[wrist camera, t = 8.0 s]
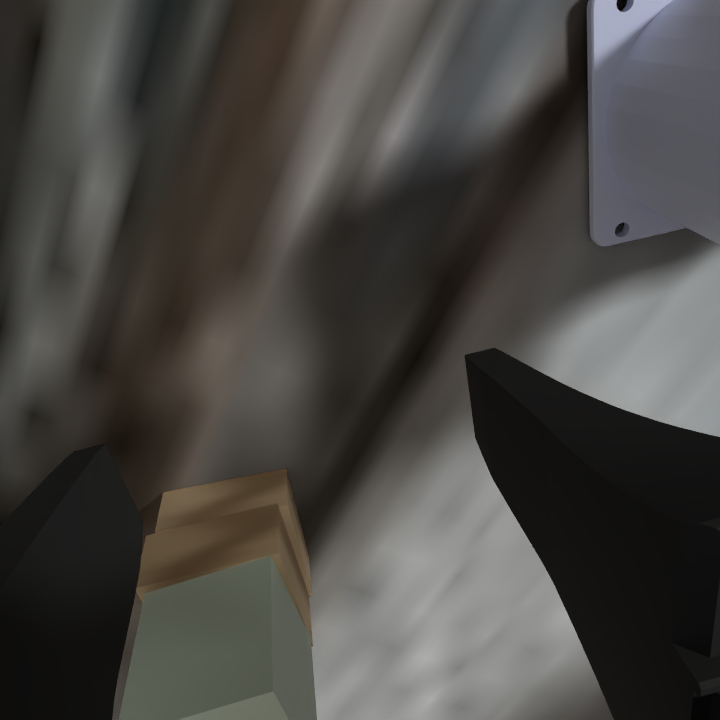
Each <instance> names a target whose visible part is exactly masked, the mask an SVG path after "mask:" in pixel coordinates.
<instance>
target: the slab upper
mask: <svg viewBox="0 0 720 720" xmlns="http://www.w3.org/2000/svg"><path fill="white" fill-rule="evenodd" d="M270 555H271V556H272V558H273V561H274V563H275V565H276V567H277V569H278V571H279V573H280V575H281V577H282V579H283V581H284V583H285V585H286V588H287V590H288V592H289V594H290V596H291V598H292V600H293V602H294V604H295V606H296V608H297V610H298V613H299V615H300V617H301V619H302V621H303V623H304V625H305V627H306V629H307V631H308V633H309V635H310V637H311V647H312V646H313V644H312V631H311V617H310V604H309V593H308V591H307V588H306V585H305V582H304V579H303V576H302V573H301V570H300V567H299V564H298V562H297V559H296V556H295V553H294V550H293V547H292V544H291V541H290V538H289V536H288V533H287V530H286V527H285V524H284V521H283V518H282V515H281V512H280V509H279V507H278V504H275V505H271V506H267V507H262V508H258V509H254V510H250V511H246V512H242V513H238V514H233V515H229V516H225V517H221V518H217V519H213V520H209V521H204V522H200V523H196V524H192V525H188V526H184V527H180V528H176V529H171V530H167V531H163V532H159V533H155V534H151V535H147V536H146V538H145V543H144V547H143V552H142V556H141V566H140V572H139V578H138V583H137V588H136V593H137V594H138V596H139V598H140V600H141V602H142V603H143V598H144V593H147V592H151V591H154V590H157V589H161V588H164V587H167V586H171V585H174V584H177V583H181V582H184V581H187V580H191V579H194V578H197V577H200V576H204V575H207V574H210V573H214V572H217V571H220V570H224V569H227V568H230V567H234V566H237V565H240V564H244V563H247V562H250V561H254V560H257V559H260V558H264V557H267V556H270Z"/></svg>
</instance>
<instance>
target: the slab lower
mask: <svg viewBox="0 0 720 720" xmlns="http://www.w3.org/2000/svg"><path fill="white" fill-rule="evenodd" d="M275 504H278V507H279V509H280V512H281V515H282V518H283V521H284V524H285V527H286V530H287V533H288V536H289V538H290V541H291V544H292V547H293V550H294V553H295V556H296V559H297V562H298V564H299V567H300V570H301V573H302V576H303V579H304V582H305V585H306V588H307V591H308V593H309V597H312V590H311V578H310V565H309V555H308V551H307V547H306V543H305V539H304V536H303V532H302V528H301V524H300V520H299V516H298V512H297V508H296V505H295V501H294V497H293V493H292V489H291V485H290V481H289V478H288V474H287V470H286V468H284V469H279V470H274V471H269V472H264V473H259V474H254V475H249V476H244V477H239V478H233V479H228V480H223V481H218V482H213V483H208V484H203V485H198V486H193V487H188V488H183V489H178V490H173V491H168V492H163V496H162V500H161V505H160V510H159V514H158V519H157V524H156V529H155V533H159V532H163V531H167V530H171V529H176V528H180V527H184V526H188V525H192V524H196V523H200V522H204V521H209V520H213V519H217V518H221V517H225V516H229V515H233V514H238V513H242V512H246V511H250V510H254V509H258V508H262V507H267V506H271V505H275Z"/></svg>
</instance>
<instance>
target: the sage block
mask: <svg viewBox="0 0 720 720" xmlns="http://www.w3.org/2000/svg"><path fill="white" fill-rule="evenodd" d="M119 720H317V715H316V702H315V688H314V675H313V662H312V649H311V637H310V635H309V633H308V631H307V629H306V627H305V625H304V623H303V621H302V619H301V617H300V615H299V613H298V610H297V608H296V606H295V604H294V602H293V600H292V598H291V596H290V594H289V592H288V590H287V588H286V585H285V583H284V581H283V579H282V577H281V575H280V573H279V571H278V569H277V567H276V565H275V563H274V561H273V558H272V556H271V555H270V556H267V557H264V558H260V559H257V560H254V561H250V562H247V563H244V564H240V565H237V566H234V567H230V568H227V569H224V570H220V571H217V572H214V573H210V574H207V575H204V576H200V577H197V578H194V579H191V580H187V581H184V582H181V583H177V584H174V585H171V586H167V587H164V588H161V589H157V590H154V591H151V592H147V593H144V598H143V603H142V608H141V612H140V617H139V622H138V627H137V632H136V637H135V642H134V647H133V652H132V657H131V662H130V666H129V671H128V676H127V681H126V686H125V691H124V696H123V701H122V706H121V711H120V715H119Z"/></svg>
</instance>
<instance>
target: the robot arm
mask: <svg viewBox="0 0 720 720" xmlns="http://www.w3.org/2000/svg"><path fill="white" fill-rule="evenodd" d="M616 3H617V0H589V1H588V5H587V61H588V133H589V206H590V236H591V239H592V240H593V241H594V242H595V243H596V244H598V245H600V246H602V247H603V246H611V245H616V244H620V243H624V242H628V241H633V240H637V239H641V238H646V237H650V236H654V235H659V234H663V233H667V232H672V231H676V230H680V229H685V228H688V229H690V230H692V231H694V232H695V233H697V234H699V235H701V236H703V237H705V238H707V239H709V240H711V241H713V242H715V243H717V244H719V245H720V0H627V4H626V6H625V8H624V9H623V10H621V11H619V10H618V9H617V5H616ZM622 222H623V223H624V228H623V230H622V231H621V232H620V233H617V234H615V229H616V227H617V226H618V225H619V224H620V223H622ZM465 361H466V369H467V377H468V385H469V393H470V400H471V408H472V416H473V424H474V432H475V438H476V441H477V443H478V445H479V448H480V450H481V453H482V455H483V458H484V460H485V462H486V465H487V467H488V469H489V471H490V474H491V476H492V478H493V480H494V482H495V484H496V485H497V487H498V489H499V490H500V492H501V494H502V495H503V497H504V499H505V501H506V502H507V504H508V506H509V507H510V509H511V511H512V512H513V514H514V516H515V517H516V519H517V521H518V522H519V524H520V526H521V527H522V529H523V531H524V532H525V534H526V536H527V538H528V539H529V541H530V543H531V544H532V546H533V548H534V549H535V551H536V553H537V554H538V556H539V558H540V559H541V561H542V563H543V564H544V566H545V568H546V570H547V572H548V574H549V576H550V577H551V579H552V581H553V583H554V585H555V587H556V589H557V591H558V594H559V596H560V598H561V600H562V602H563V604H564V607H565V609H566V611H567V613H568V615H569V617H570V620H571V622H572V624H573V626H574V628H575V631H576V633H577V635H578V637H579V640H580V642H581V644H582V646H583V649H584V651H585V653H586V655H587V658H588V660H589V662H590V665H591V667H592V669H593V671H594V674H595V676H596V678H597V680H598V683H599V685H600V688H601V690H602V692H603V695H604V697H605V699H606V702H607V704H608V707H609V709H610V711H611V714H612V716H613V718H614V720H720V437H717V436H712V435H708V434H704V433H700V432H696V431H692V430H688V429H683V428H679V427H676V426H672V425H669V424H665V423H662V422H658V421H655V420H652V419H649V418H646V417H643V416H640V415H637V414H634V413H631V412H628V411H625V410H623V409H620V408H617V407H615V406H612V405H609V404H607V403H605V402H602V401H600V400H598V399H595V398H593V397H591V396H588V395H586V394H584V393H581V392H579V391H577V390H575V389H573V388H571V387H569V386H567V385H564V384H562V383H560V382H558V381H556V380H554V379H552V378H550V377H549V376H547V375H545V374H543V373H541V372H539V371H537V370H535V369H533V368H532V367H530V366H528V365H526V364H524V363H522V362H520V361H519V360H517V359H515V358H513V357H511V356H510V355H508V354H506V353H504V352H502V351H500V350H498V349H496V348H492V349H488V350H484V351H480V352H475V353H471V354H467V355H465ZM142 534H143V520H142V518H141V516H140V514H139V512H138V510H137V508H136V506H135V504H134V502H133V500H132V498H131V496H130V494H129V492H128V490H127V487H126V485H125V483H124V481H123V479H122V477H121V475H120V473H119V471H118V469H117V467H116V465H115V463H114V461H113V459H112V457H111V455H110V452H109V450H108V448H107V446H106V444H102V445H98V446H94V447H90V448H86V449H82V450H78V451H74V452H73V453H72V454H71V455H69V456H68V457H67V458H66V459H65V460H64V461H63V462H62V463H61V464H60V465H59V466H58V467H57V468H56V469H55V470H54V471H53V472H52V473H51V474H50V475H49V476H48V477H47V478H46V479H45V480H44V481H43V482H42V483H41V484H40V485H39V486H38V487H37V488H36V489H35V490H34V491H33V492H32V493H31V494H30V495H29V496H28V497H27V498H26V499H25V500H24V501H23V502H22V504H21V505H20V506H19V507H18V508H17V509H16V510H15V511H14V512H13V513H12V514H11V515H10V516H9V517H8V518H7V519H6V520H5V521H4V522H3V523H2V524H1V525H0V720H112V715H113V705H114V697H115V691H116V685H117V679H118V673H119V669H120V664H121V659H122V654H123V650H124V645H125V640H126V636H127V631H128V626H129V622H130V617H131V612H132V607H133V603H134V598H135V593H136V588H137V583H138V578H139V572H140V566H141V553H142Z"/></svg>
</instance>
